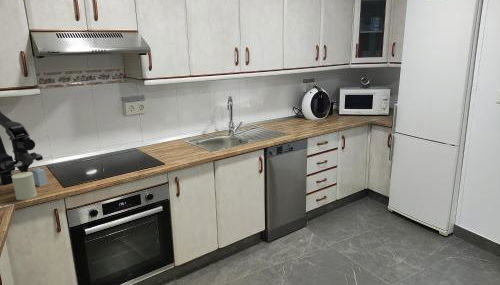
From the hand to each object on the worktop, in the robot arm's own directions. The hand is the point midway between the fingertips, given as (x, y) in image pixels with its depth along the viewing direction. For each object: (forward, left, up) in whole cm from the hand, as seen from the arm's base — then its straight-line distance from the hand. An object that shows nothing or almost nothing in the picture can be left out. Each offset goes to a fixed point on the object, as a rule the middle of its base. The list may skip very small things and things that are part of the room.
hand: (25, 176), depth 192 cm
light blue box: (0, +7, -6) cm, 9 cm away
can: (+12, -6, -7) cm, 15 cm away
